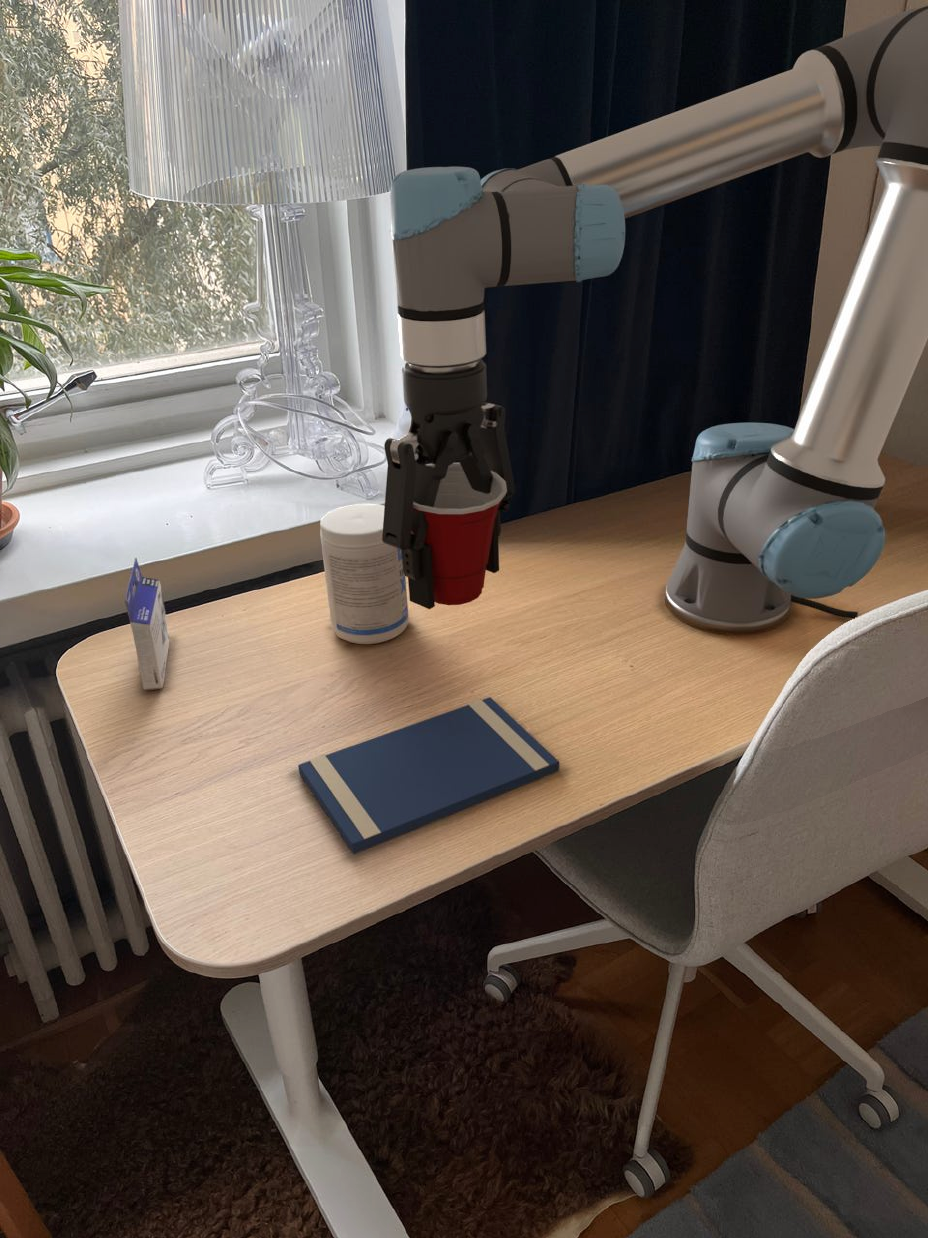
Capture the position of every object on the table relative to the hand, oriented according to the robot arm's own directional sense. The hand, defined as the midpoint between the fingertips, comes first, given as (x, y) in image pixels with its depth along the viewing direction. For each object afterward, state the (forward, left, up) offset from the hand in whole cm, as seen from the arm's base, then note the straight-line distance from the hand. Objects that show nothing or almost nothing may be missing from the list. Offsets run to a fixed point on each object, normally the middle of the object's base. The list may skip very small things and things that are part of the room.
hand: (455, 585), depth 97 cm
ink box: (+37, -2, -15) cm, 40 cm away
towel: (+1, +11, -15) cm, 19 cm away
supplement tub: (+15, -15, -15) cm, 26 cm away
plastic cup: (0, 0, -1) cm, 1 cm away
